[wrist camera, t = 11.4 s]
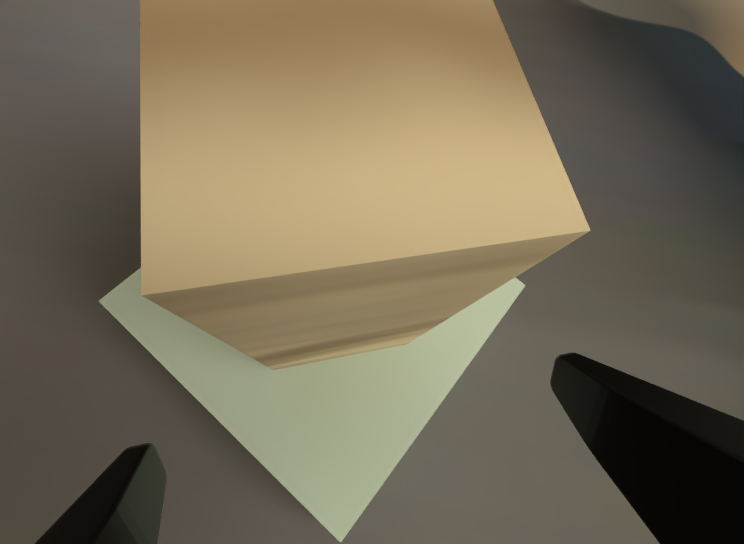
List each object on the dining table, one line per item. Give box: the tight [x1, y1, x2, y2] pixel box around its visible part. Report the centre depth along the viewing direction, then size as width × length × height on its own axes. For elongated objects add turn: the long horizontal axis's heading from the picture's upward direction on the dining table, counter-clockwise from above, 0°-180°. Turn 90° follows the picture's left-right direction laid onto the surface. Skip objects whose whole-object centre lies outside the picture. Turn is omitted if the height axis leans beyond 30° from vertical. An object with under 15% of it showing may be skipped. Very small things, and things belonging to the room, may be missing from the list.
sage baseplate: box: [99, 268, 525, 543], centre depth 18 cm, size 14×14×2 cm
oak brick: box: [140, 0, 590, 370], centre depth 11 cm, size 6×6×12 cm
